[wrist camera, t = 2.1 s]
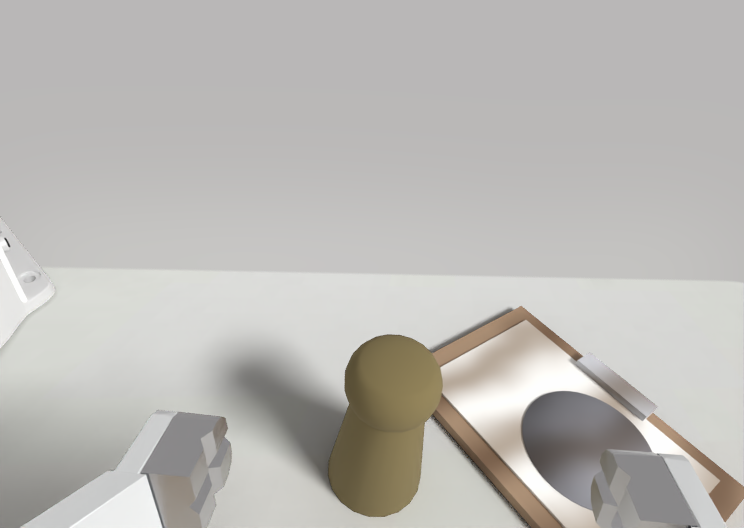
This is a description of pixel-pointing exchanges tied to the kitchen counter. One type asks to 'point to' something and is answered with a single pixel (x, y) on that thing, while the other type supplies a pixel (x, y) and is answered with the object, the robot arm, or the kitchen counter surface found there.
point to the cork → (384, 424)
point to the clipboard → (552, 420)
